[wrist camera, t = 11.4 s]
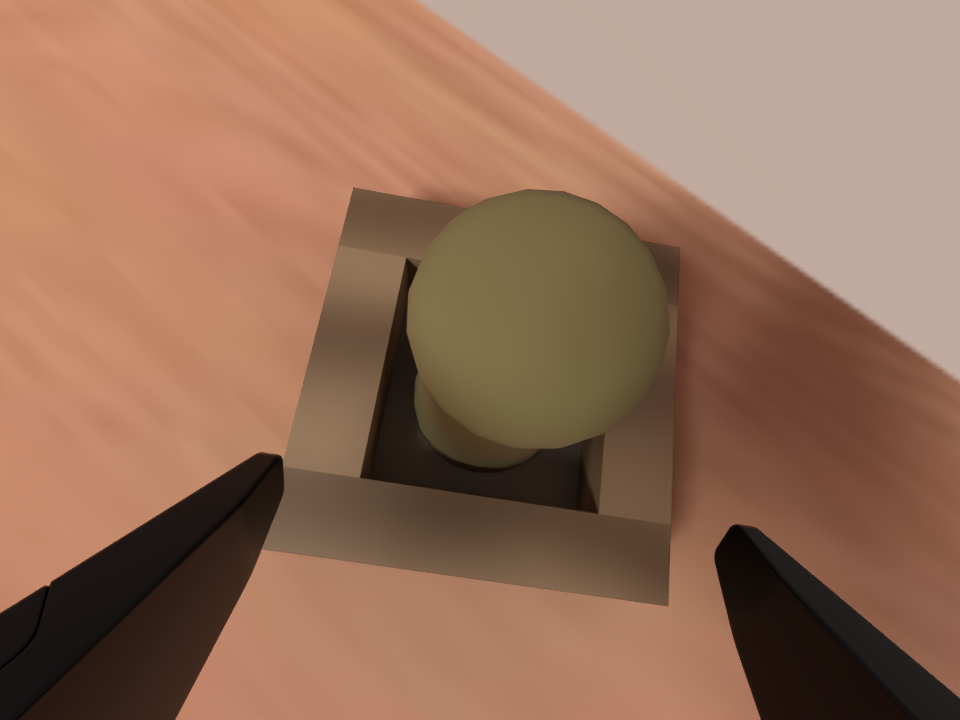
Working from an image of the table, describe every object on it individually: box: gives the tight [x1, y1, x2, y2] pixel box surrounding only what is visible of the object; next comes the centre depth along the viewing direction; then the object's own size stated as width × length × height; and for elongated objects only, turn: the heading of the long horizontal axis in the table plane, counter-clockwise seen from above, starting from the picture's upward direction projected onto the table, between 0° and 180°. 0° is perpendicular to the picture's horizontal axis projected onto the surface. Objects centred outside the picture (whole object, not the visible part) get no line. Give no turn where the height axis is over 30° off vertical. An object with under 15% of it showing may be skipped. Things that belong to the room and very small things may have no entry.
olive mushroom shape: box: [406, 189, 670, 473], centre depth 13 cm, size 6×6×11 cm
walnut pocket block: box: [262, 187, 680, 606], centre depth 17 cm, size 13×13×4 cm
